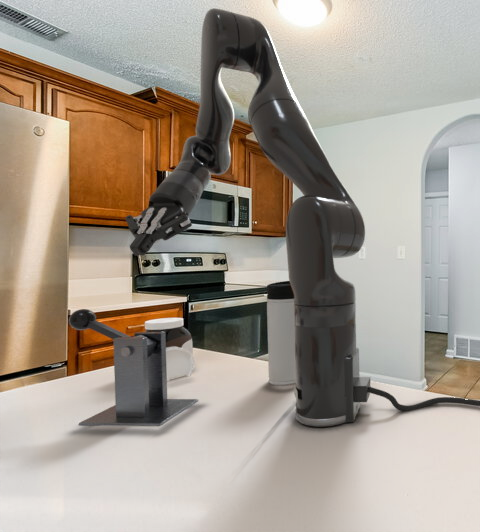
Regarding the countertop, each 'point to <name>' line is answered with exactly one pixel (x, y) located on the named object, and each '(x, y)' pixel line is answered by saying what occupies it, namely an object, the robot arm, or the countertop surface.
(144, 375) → the bracket
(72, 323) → the tap lever
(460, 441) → the countertop surface
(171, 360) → the spread jar
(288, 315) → the travel mug
